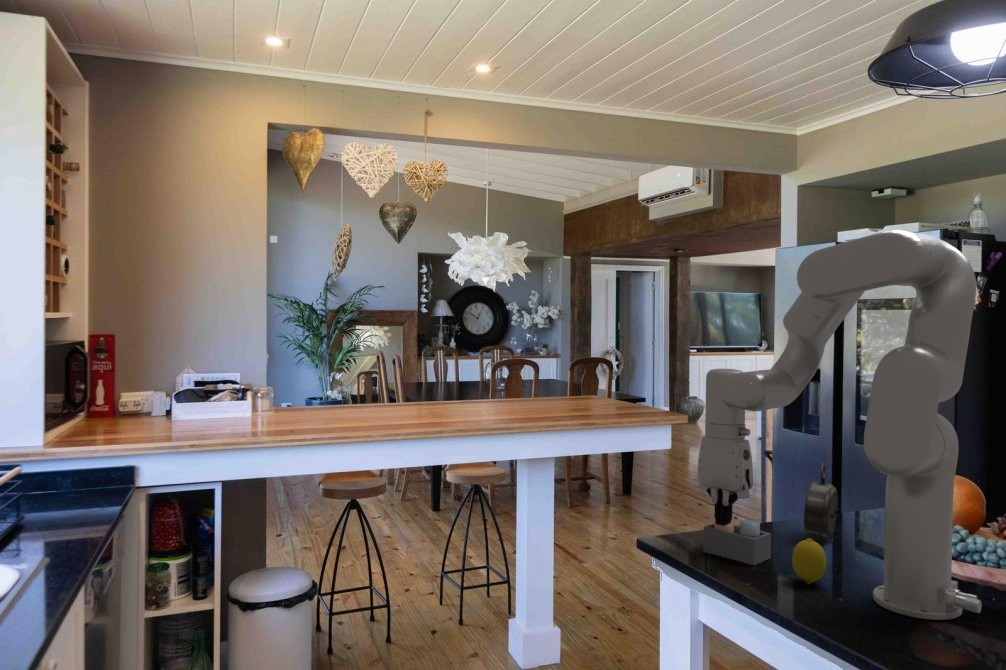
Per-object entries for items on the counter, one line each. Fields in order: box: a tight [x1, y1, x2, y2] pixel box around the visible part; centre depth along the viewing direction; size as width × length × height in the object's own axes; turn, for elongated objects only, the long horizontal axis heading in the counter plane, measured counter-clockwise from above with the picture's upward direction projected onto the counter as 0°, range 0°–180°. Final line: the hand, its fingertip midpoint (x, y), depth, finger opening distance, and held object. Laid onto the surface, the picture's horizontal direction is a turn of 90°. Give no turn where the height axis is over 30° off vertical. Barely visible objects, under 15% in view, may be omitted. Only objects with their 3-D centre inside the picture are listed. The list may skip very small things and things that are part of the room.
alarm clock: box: [803, 462, 840, 543], centre depth 152 cm, size 11×5×16 cm, turn 144°
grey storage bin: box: [703, 522, 772, 566], centre depth 143 cm, size 11×6×5 cm, turn 41°
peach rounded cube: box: [715, 522, 735, 533], centre depth 145 cm, size 4×4×4 cm
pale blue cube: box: [739, 519, 761, 538], centre depth 141 cm, size 4×4×4 cm
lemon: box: [791, 537, 827, 585], centre depth 128 cm, size 6×6×8 cm
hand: (723, 523), depth 145 cm, fingers closed
